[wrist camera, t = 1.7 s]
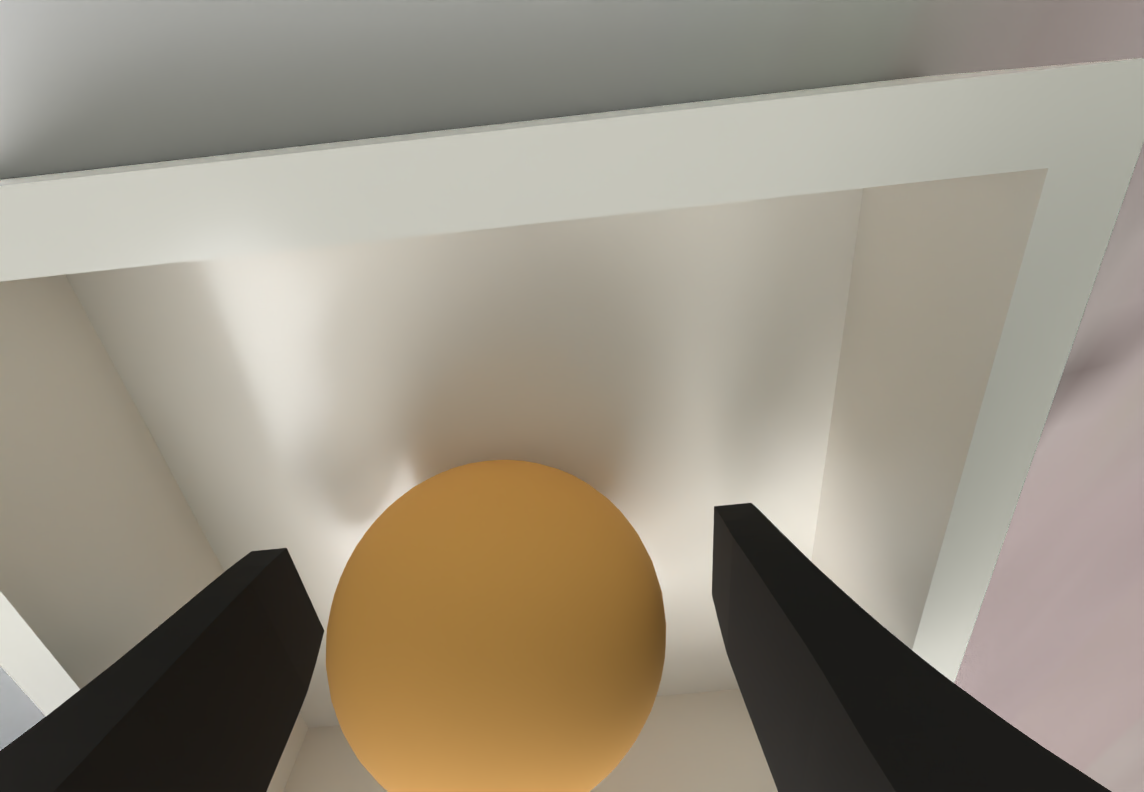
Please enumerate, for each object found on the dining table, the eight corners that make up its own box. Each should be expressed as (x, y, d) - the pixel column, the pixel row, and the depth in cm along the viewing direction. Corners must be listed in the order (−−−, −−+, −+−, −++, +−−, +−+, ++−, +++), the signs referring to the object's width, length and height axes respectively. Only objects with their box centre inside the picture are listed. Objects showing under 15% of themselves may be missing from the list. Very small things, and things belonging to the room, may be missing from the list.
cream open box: (292, 737, 14) (220, 912, 11) (-22, 182, 8) (-388, 229, 5) (818, 690, 14) (893, 855, 11) (924, 76, 8) (1173, 55, 5)
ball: (415, 616, 12) (334, 917, 8) (349, 418, 10) (176, 683, 5) (645, 595, 12) (700, 886, 7) (635, 389, 10) (706, 633, 5)
